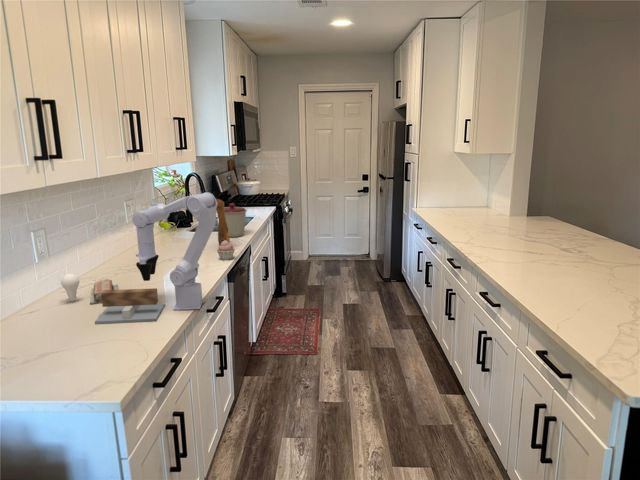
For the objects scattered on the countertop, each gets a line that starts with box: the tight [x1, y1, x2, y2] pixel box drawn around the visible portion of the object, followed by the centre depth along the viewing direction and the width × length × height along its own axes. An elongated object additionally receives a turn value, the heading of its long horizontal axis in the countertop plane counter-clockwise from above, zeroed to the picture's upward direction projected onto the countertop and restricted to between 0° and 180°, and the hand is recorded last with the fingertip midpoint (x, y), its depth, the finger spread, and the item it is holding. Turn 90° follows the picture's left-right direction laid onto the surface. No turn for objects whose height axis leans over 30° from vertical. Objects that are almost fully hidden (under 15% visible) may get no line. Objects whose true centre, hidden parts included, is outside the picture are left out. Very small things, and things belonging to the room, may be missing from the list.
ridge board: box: [94, 303, 166, 325], centre depth 155 cm, size 20×14×4 cm
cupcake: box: [216, 240, 236, 261], centre depth 226 cm, size 9×9×10 cm
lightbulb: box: [60, 273, 80, 302], centre depth 167 cm, size 6×6×11 cm
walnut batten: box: [101, 287, 159, 308], centre depth 154 cm, size 18×3×5 cm, turn 98°
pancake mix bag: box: [215, 197, 231, 247], centre depth 247 cm, size 7×19×28 cm, turn 22°
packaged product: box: [89, 278, 119, 306], centre depth 174 cm, size 18×5×10 cm
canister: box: [224, 202, 248, 238], centre depth 276 cm, size 18×18×21 cm
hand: (149, 277), depth 166 cm, fingers open, 7 cm apart
